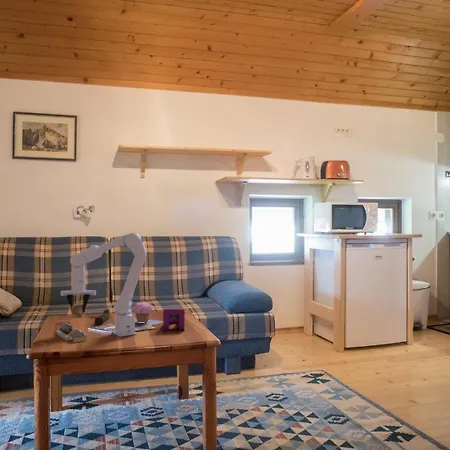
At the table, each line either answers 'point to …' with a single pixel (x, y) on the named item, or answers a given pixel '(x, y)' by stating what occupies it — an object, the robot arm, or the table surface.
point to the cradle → (66, 335)
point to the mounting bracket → (169, 318)
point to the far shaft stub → (65, 328)
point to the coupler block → (77, 310)
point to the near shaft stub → (77, 336)
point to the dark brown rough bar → (102, 317)
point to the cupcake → (142, 311)
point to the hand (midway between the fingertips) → (78, 312)
